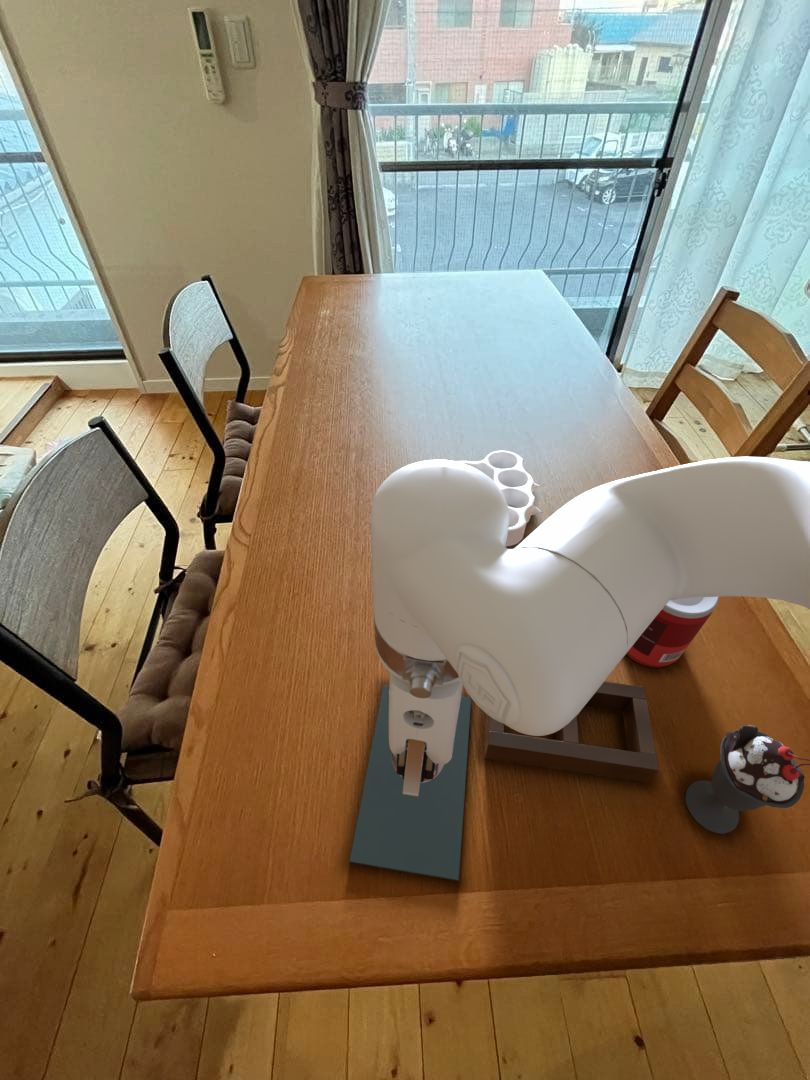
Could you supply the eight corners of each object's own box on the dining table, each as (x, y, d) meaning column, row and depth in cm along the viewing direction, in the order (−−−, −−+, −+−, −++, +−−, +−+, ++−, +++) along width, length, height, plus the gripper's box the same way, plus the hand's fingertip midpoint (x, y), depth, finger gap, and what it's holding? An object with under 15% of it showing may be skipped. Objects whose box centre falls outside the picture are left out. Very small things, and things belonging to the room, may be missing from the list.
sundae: (751, 854, 52) (847, 798, 41) (676, 828, 53) (749, 768, 42) (746, 785, 56) (831, 718, 45) (676, 763, 58) (743, 693, 47)
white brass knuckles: (447, 462, 91) (537, 470, 90) (439, 540, 79) (542, 550, 78) (449, 445, 89) (541, 453, 88) (440, 523, 76) (547, 534, 75)
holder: (646, 783, 56) (658, 770, 54) (484, 758, 58) (488, 744, 55) (634, 702, 62) (644, 686, 60) (487, 681, 64) (491, 665, 61)
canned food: (688, 634, 69) (728, 577, 61) (670, 682, 64) (710, 627, 56) (628, 605, 72) (658, 548, 64) (606, 649, 67) (635, 593, 59)
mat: (458, 881, 50) (458, 880, 50) (349, 862, 51) (349, 861, 50) (471, 699, 62) (471, 697, 62) (383, 686, 63) (383, 684, 63)
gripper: (477, 760, 31) (452, 849, 45) (490, 543, 43) (466, 665, 56) (348, 740, 32) (360, 834, 45) (395, 532, 44) (394, 654, 57)
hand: (419, 739), depth 51 cm, fingers closed on pill bottle, 5 cm apart
